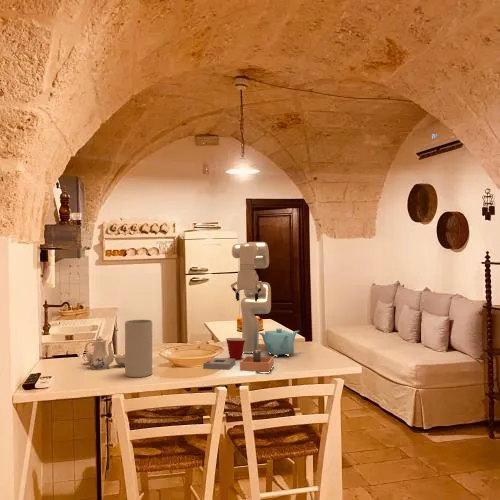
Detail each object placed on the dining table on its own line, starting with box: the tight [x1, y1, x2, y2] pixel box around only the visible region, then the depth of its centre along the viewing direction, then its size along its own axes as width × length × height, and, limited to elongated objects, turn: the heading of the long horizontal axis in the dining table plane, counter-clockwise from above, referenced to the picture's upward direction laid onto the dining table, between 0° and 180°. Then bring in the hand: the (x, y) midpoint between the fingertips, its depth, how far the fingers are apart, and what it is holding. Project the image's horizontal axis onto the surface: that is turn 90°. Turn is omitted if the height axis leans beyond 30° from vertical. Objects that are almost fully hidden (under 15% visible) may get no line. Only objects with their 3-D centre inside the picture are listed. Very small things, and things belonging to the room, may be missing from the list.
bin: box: [239, 355, 275, 372], centre depth 237 cm, size 14×14×5 cm
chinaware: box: [83, 335, 125, 371], centre depth 246 cm, size 28×17×17 cm, turn 76°
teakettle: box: [259, 328, 300, 356], centre depth 272 cm, size 19×19×15 cm
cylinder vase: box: [124, 319, 153, 378], centre depth 228 cm, size 12×12×25 cm
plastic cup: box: [225, 337, 246, 361], centre depth 258 cm, size 11×11×12 cm
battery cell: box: [252, 350, 262, 362], centre depth 237 cm, size 4×4×9 cm
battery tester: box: [202, 357, 236, 371], centre depth 241 cm, size 13×13×4 cm
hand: (247, 300), depth 253 cm, fingers open, 9 cm apart
